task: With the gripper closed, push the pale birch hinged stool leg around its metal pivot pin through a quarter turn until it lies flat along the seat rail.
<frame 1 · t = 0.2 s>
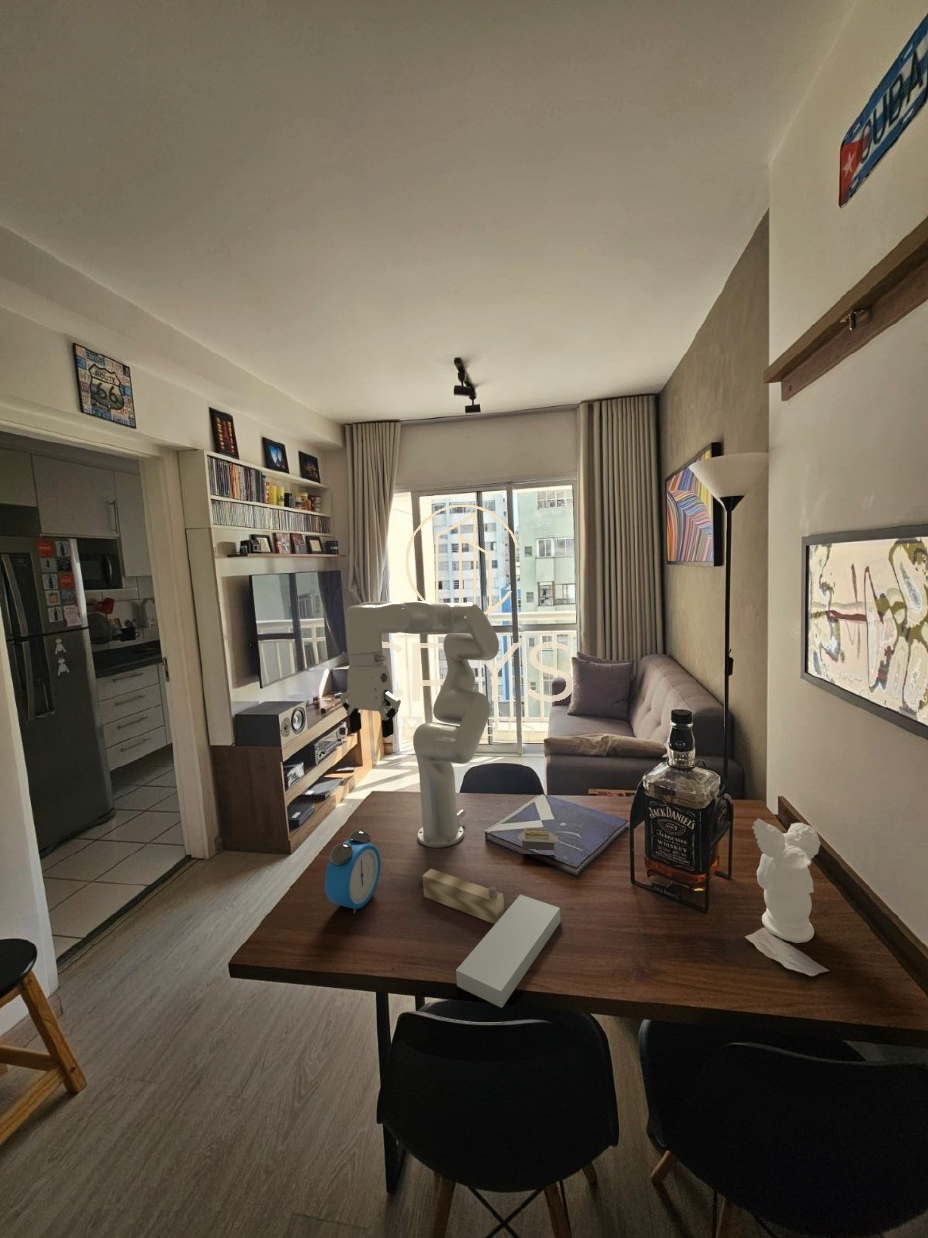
hand: (371, 733, 119), 36 cm above the table, tool pointing down, fingers open, 9 cm apart
cherub figurine: (790, 935, 98), on the table
hinged leg: (459, 891, 112), point 3 cm above the table, hinge at 0.0°
alarm clock: (355, 902, 116), on the table
seat rail: (512, 951, 98), on the table
platform: (539, 855, 131), on the table
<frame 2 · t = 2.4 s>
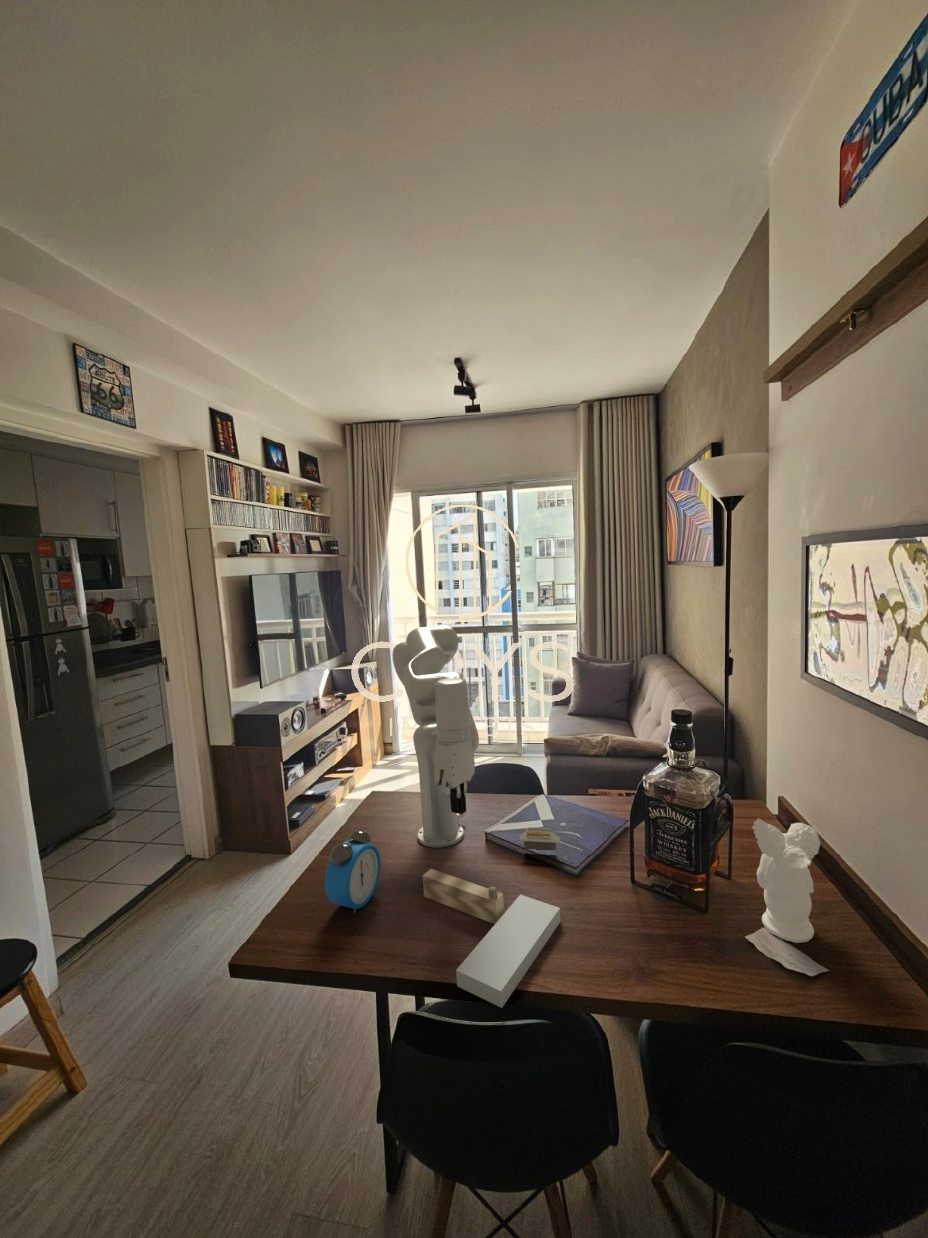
hand: (458, 811, 119), 17 cm above the table, tool pointing down, fingers closed
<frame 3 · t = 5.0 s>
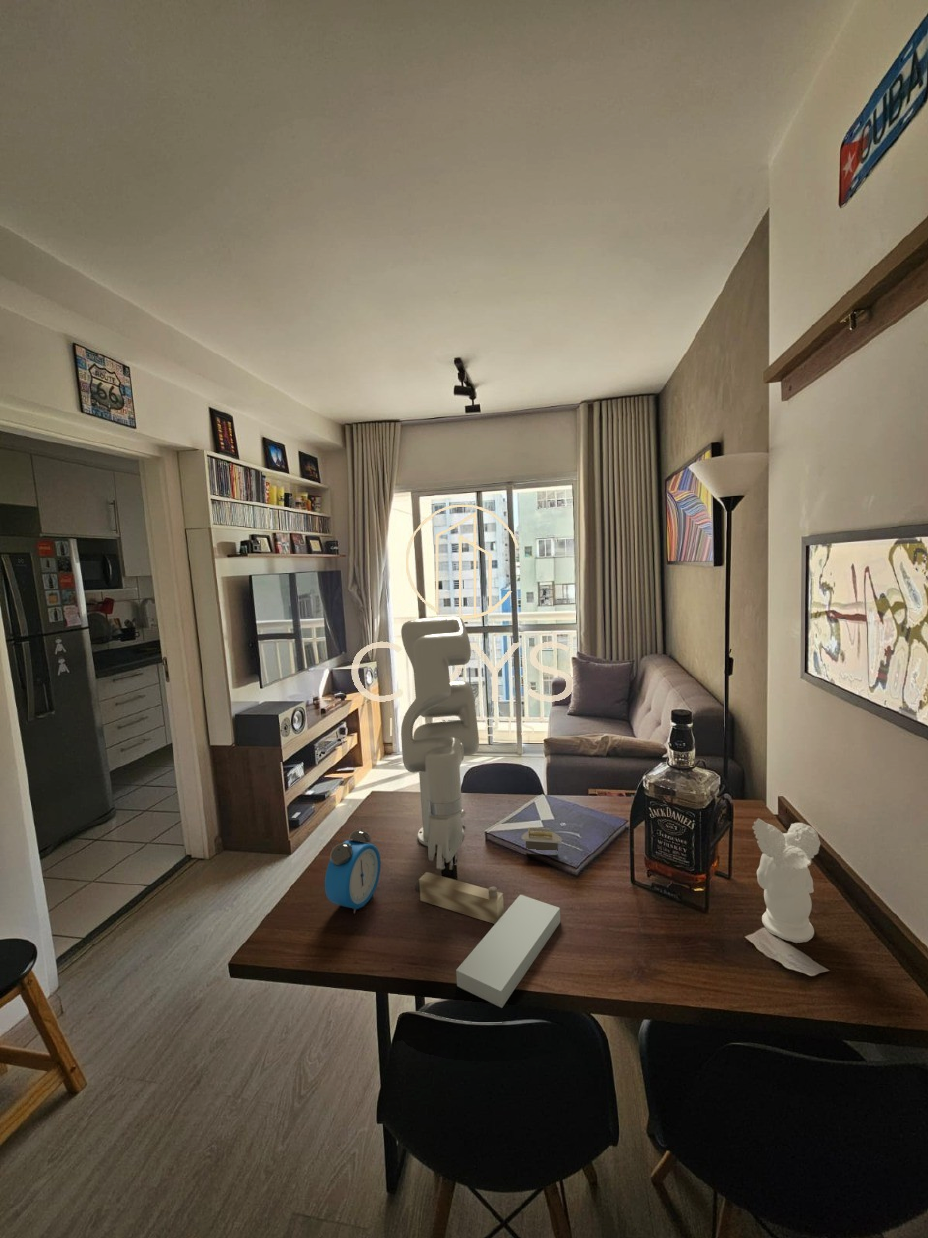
hand: (449, 882, 116), 3 cm above the table, tool pointing down, fingers closed
hinged leg: (457, 893, 111), point 3 cm above the table, hinge at 4.9°, touching gripper
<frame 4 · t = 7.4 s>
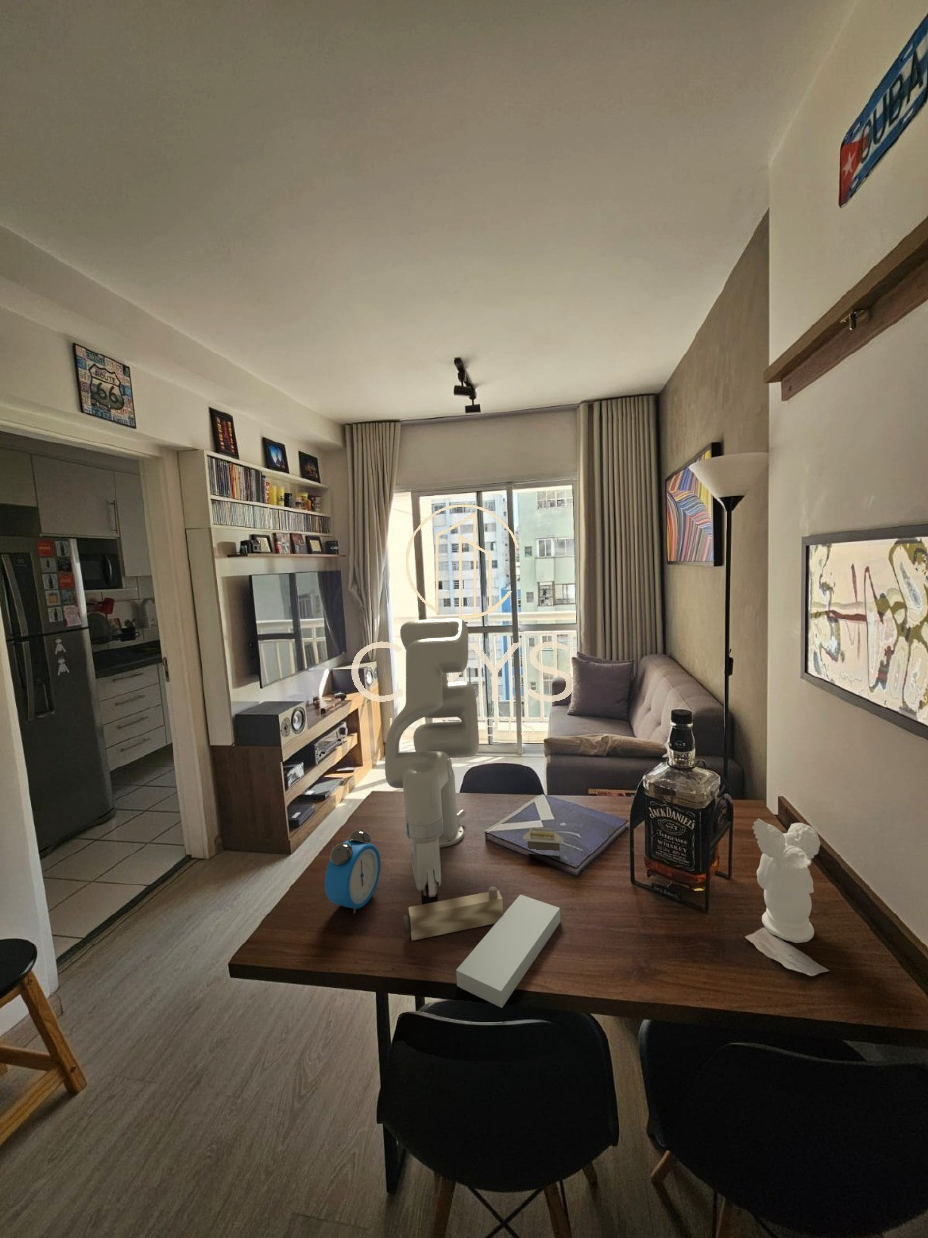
hand: (430, 909, 108), 2 cm above the table, tool pointing down, fingers closed
hinged leg: (453, 911, 105), point 3 cm above the table, hinge at 46.4°, touching gripper
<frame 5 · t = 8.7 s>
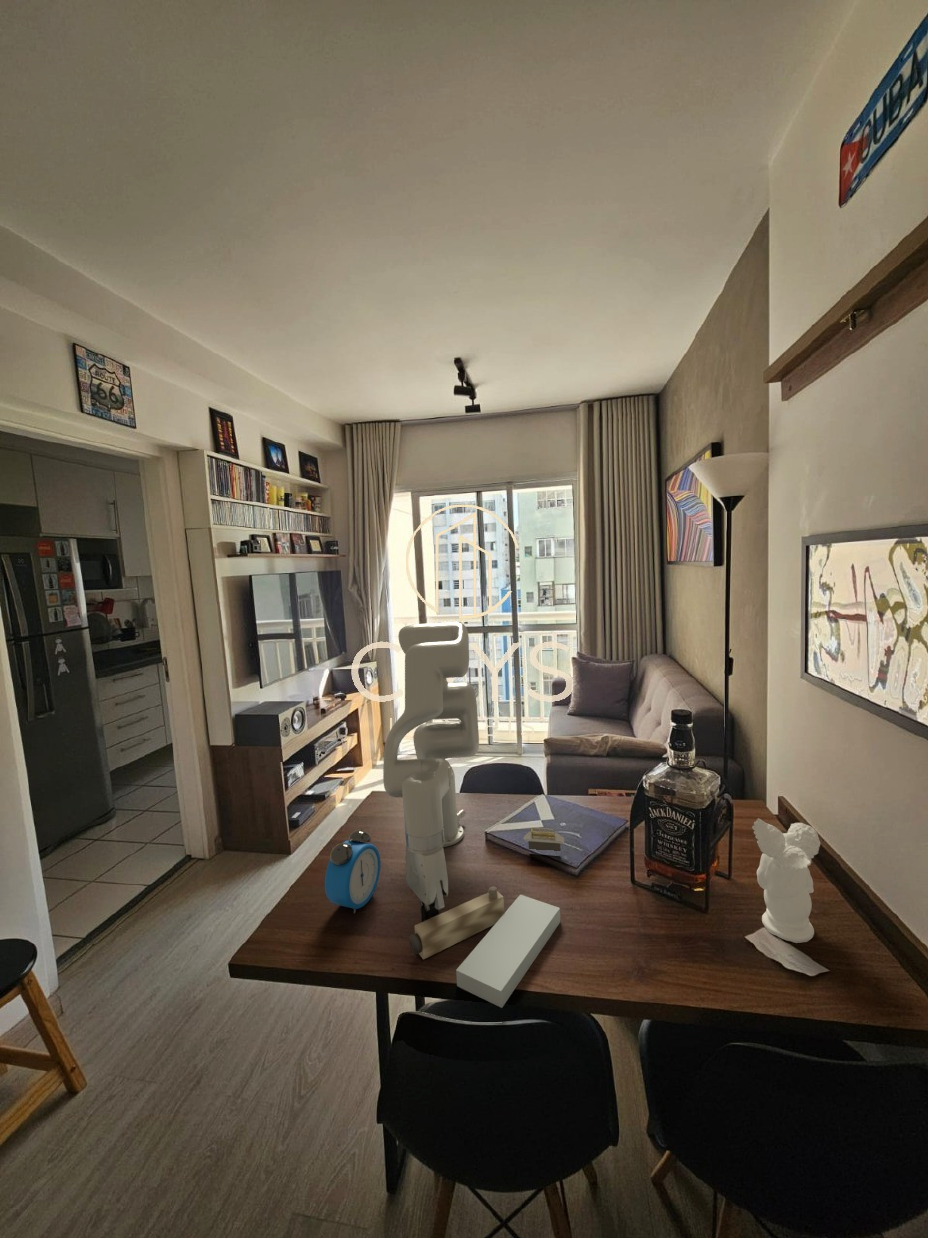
hand: (430, 923, 103), 2 cm above the table, tool pointing down, fingers closed
hinged leg: (458, 920, 102), point 4 cm above the table, hinge at 65.7°, touching gripper
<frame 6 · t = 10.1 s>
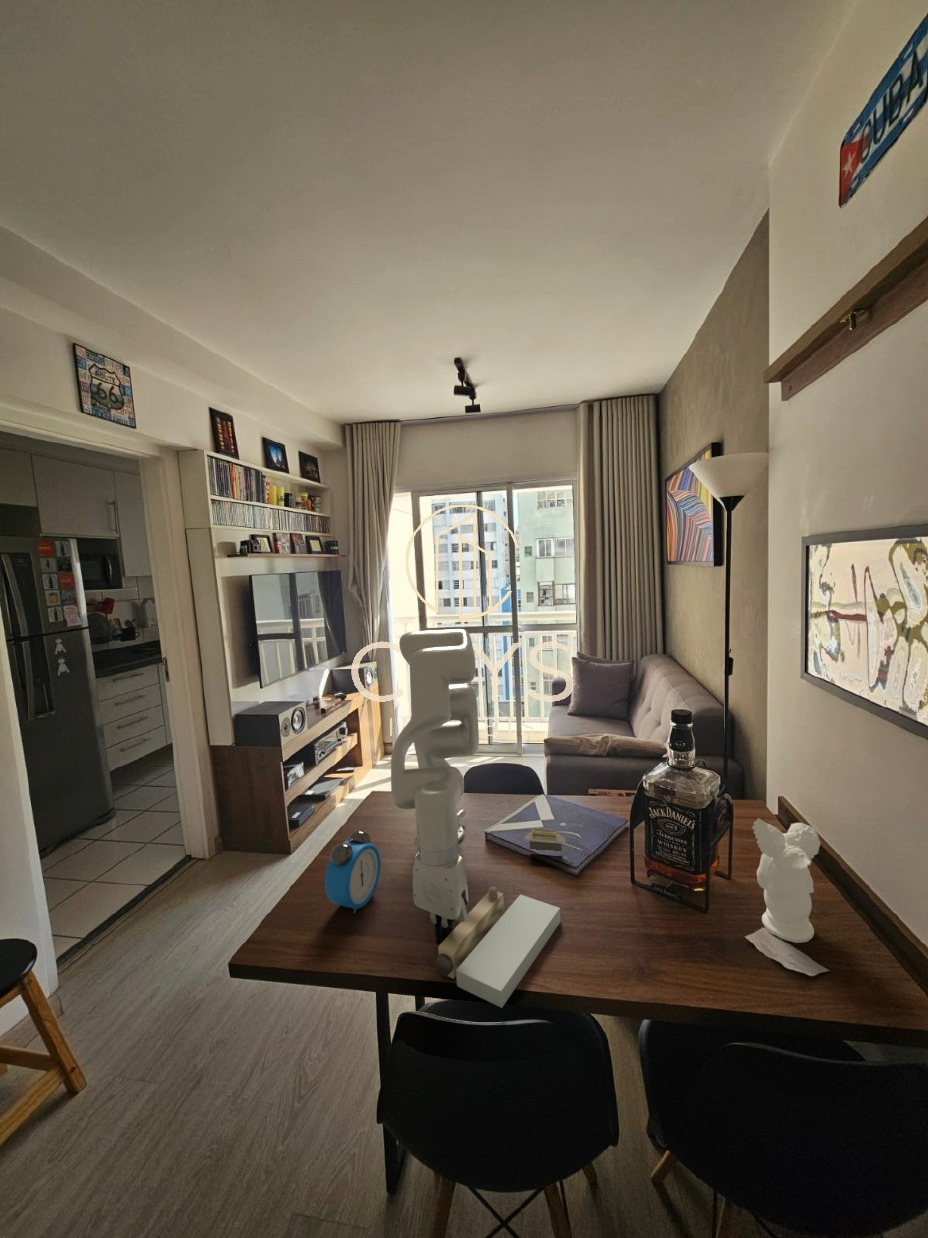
hand: (444, 940, 98), 3 cm above the table, tool pointing down, fingers closed
hinged leg: (471, 929, 100), point 4 cm above the table, hinge at 91.0°, touching gripper
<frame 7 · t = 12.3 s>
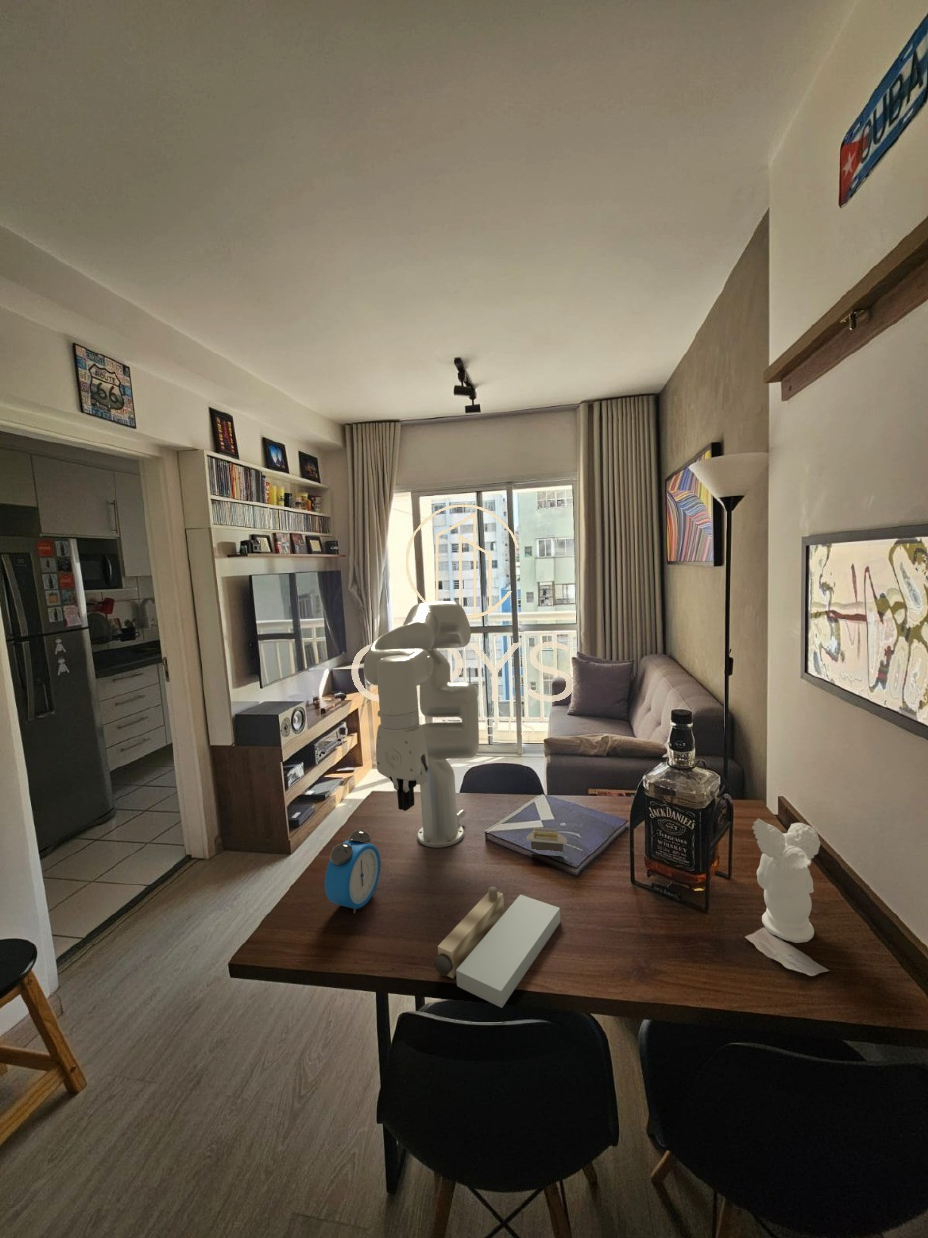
hand: (406, 807, 104), 25 cm above the table, tool pointing down, fingers closed
hinged leg: (471, 928, 100), point 3 cm above the table, hinge at 90.5°
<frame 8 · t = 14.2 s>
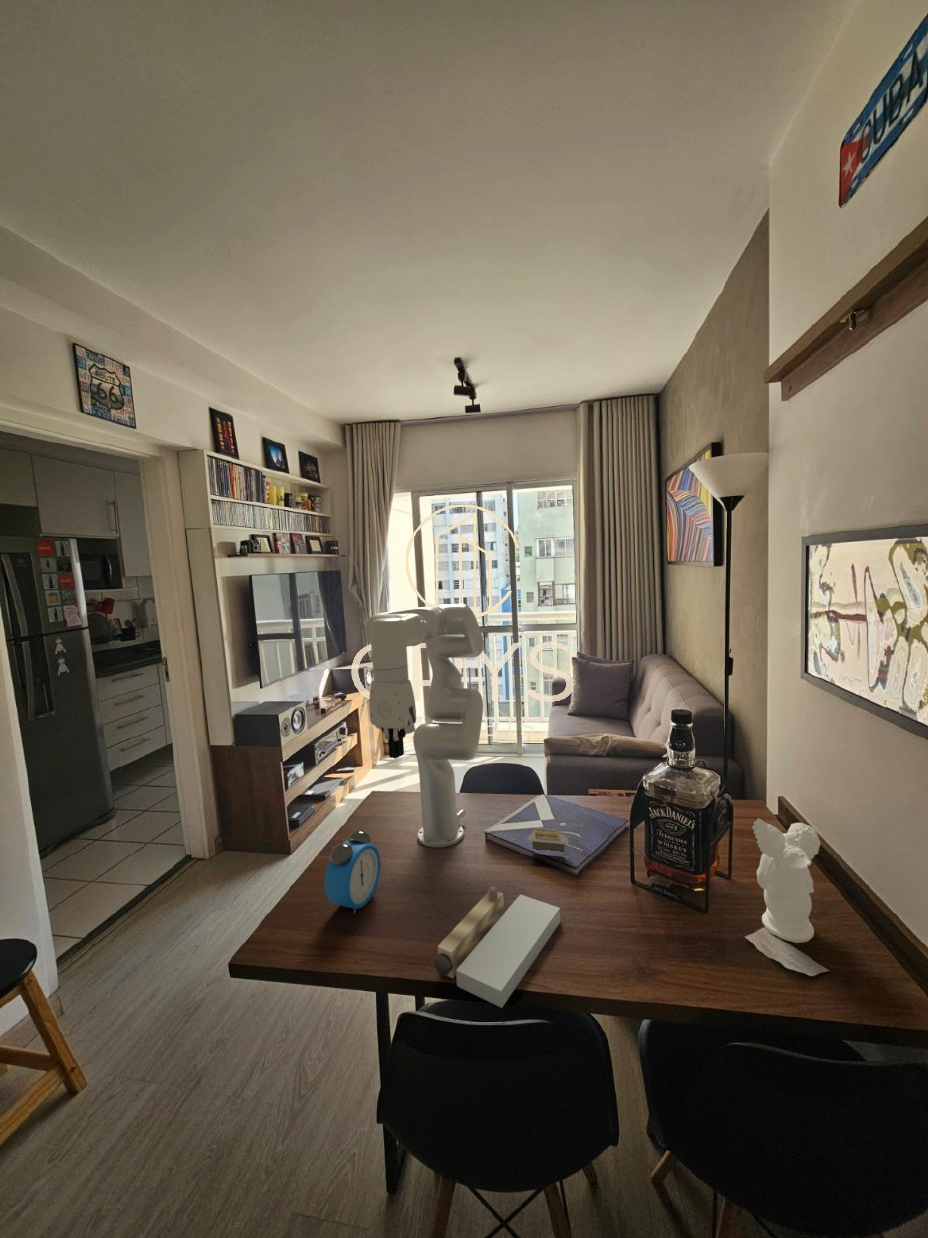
hand: (396, 756, 115), 32 cm above the table, tool pointing down, fingers closed
at the end: hinged leg at +90° (first picture: +0°); alarm clock moved 0.2 cm from its start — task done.
